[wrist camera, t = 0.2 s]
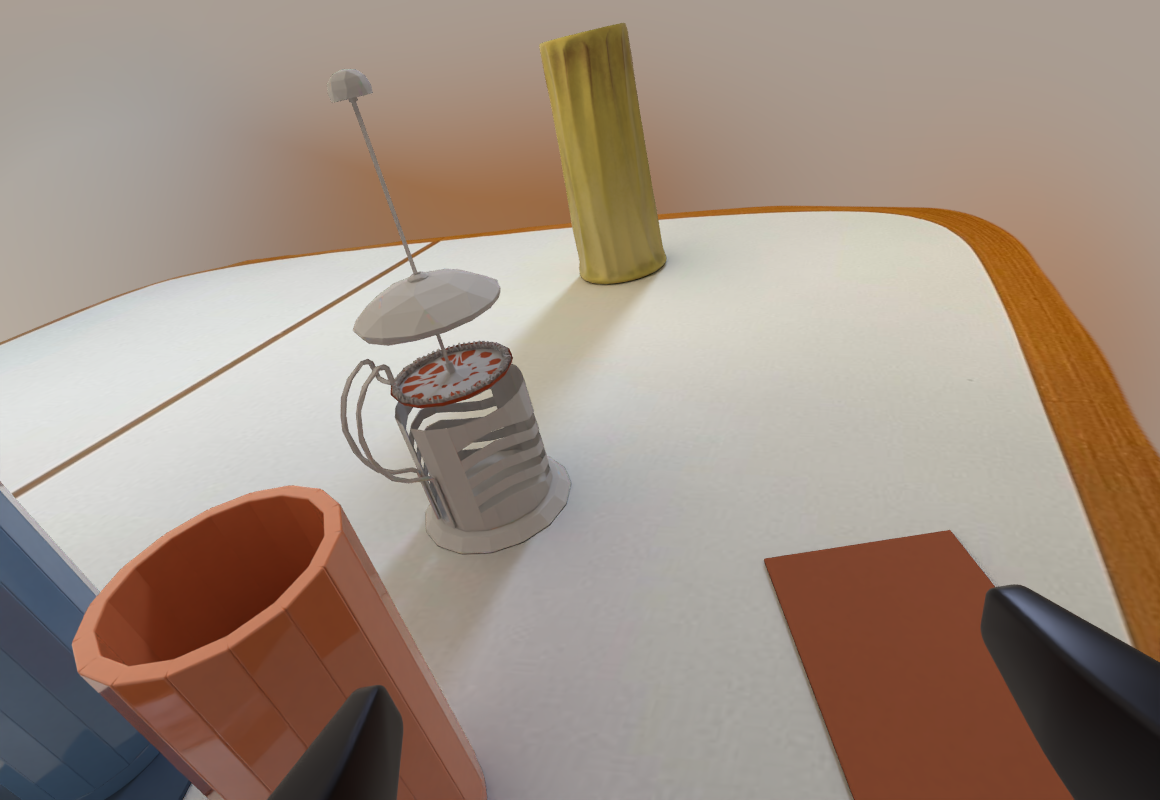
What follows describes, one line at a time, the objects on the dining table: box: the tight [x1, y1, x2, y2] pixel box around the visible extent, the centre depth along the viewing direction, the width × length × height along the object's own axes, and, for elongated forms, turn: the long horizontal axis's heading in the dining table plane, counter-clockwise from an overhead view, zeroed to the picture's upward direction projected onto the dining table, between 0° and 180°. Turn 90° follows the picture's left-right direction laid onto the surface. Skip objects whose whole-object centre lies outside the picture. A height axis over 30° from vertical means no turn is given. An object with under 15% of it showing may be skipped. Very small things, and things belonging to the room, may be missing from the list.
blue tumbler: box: [0, 482, 160, 800], centre depth 25 cm, size 7×7×14 cm
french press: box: [327, 69, 571, 554], centre depth 32 cm, size 10×12×25 cm
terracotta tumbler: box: [72, 485, 487, 800], centre depth 19 cm, size 7×7×14 cm
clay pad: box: [764, 530, 1074, 800], centre depth 24 cm, size 12×9×1 cm
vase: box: [539, 23, 666, 284], centre depth 66 cm, size 11×11×25 cm
